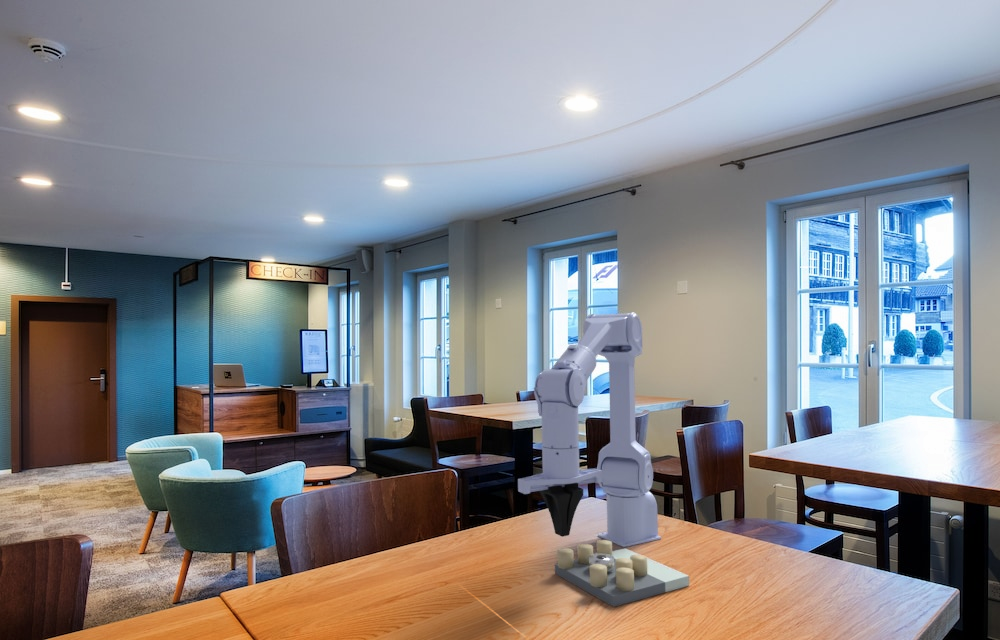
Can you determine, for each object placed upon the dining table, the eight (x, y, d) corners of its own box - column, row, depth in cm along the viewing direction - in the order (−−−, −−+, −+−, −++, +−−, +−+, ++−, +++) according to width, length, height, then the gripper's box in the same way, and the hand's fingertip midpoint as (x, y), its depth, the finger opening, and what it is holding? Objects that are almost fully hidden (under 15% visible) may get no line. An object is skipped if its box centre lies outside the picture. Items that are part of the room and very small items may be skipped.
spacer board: (625, 556, 108) (624, 534, 108) (689, 585, 95) (688, 559, 95) (553, 573, 101) (553, 549, 101) (612, 607, 88) (611, 579, 88)
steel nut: (603, 563, 101) (603, 551, 101) (619, 571, 97) (619, 558, 97) (584, 568, 99) (583, 555, 99) (599, 576, 95) (599, 563, 95)
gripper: (582, 438, 102) (584, 520, 102) (507, 446, 95) (508, 535, 95) (609, 444, 96) (611, 531, 95) (531, 453, 89) (532, 547, 88)
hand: (562, 534), depth 95 cm, fingers closed
